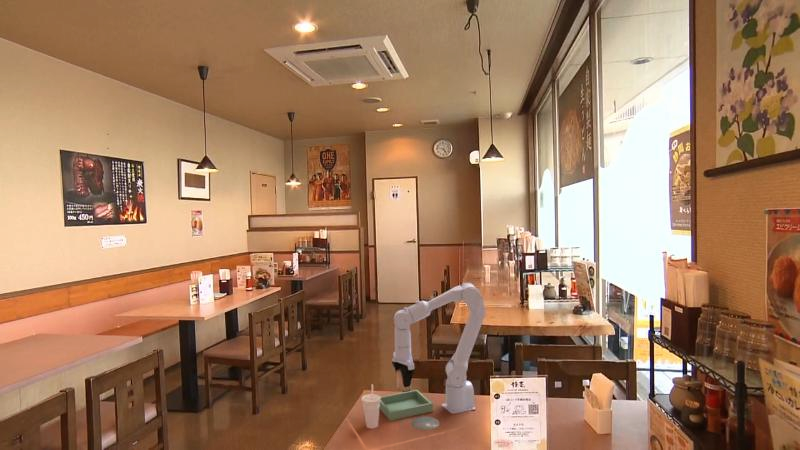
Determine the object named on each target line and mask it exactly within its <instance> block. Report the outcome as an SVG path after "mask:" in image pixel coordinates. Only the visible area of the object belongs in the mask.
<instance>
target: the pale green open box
mask: <svg viewBox="0 0 800 450" xmlns="http://www.w3.org/2000/svg"><path fill="white" fill-rule="evenodd" d="M379 411H381V412H382V413H383V415H384V416H385V417H386V419H388V421H389V422H392V421H395V420H396V421H397V420H400V419H405V418H409V417H413V416H418V415H424V414H428V413H432V412H434V404H433V402H432V401H431V400H430V399H428V397H426V396H425V395H424V394H423V393H421V392H420V391H419V390H418V389H414V390H413V389H412V390H408V391H402V392H398V393H394V394H393V393H392V394H388V395H384V396H381V401H380V408H379Z"/></svg>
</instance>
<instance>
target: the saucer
mask: <svg viewBox="0 0 800 450" xmlns="http://www.w3.org/2000/svg"><path fill="white" fill-rule="evenodd" d="M411 426H413V428H414V429H417V430H421V431H430V430H434V429H437V428H438V427H439V426H440V421H439V420H438V419H437V418H435V417H432V416H419V417H416V418H414V419H412V421H411Z"/></svg>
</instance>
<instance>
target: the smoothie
mask: <svg viewBox="0 0 800 450" xmlns="http://www.w3.org/2000/svg"><path fill="white" fill-rule="evenodd" d="M381 397H382V396H381V395H379V394H377V393H374V384H373V383H372V384H371V393H368V394H367V393H366V394H365V395H363V396H362V397H361V399H360V400H361V402H360V403H362V408H363V414H364V420H365V421H364V422H365V426H366V428H367V429H376V428H378V427H379V420H380V419H379V418H380V409H379V408H380V401H381Z"/></svg>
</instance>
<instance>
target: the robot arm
mask: <svg viewBox="0 0 800 450" xmlns="http://www.w3.org/2000/svg"><path fill="white" fill-rule="evenodd" d="M462 301H463V302H464V303H465V305H467V306H466V307H467V308H468V310H469V312H470V313H469V314H468V315H469V316H468V318H467V320H466V324H465V325H464V329H463V331H462V334H461V337H460V339H459V341H458V345H457V347H456V350H455V352H454V354H453V355H452V356H451V359H450V360H449V361H448V362H447V363H446V364H445V373H446V376H447V378H446V380H445V403H442V404H441V407H443V408H444V409H446V410H447V411H448V412H449V413H450V414H453V415H454V414H457V413H462V412H466V411H475V410H476V407H475V390H474V386H473V384H472V382H471V381H470V380H467V378H468V376H467V371H468V365H469V359H470V357H471V354H472V351H473V349H474V346H475V344H476V340H477V338H478V336H479V333H480V331H481V328H482V324H483V322H484V319H485V316H486V314H487V312H486V308H485V303H484V296H483V295H482V293H481V291H480V290H479V288H477V287H475V285H474V284H472V283H471V282H464V283H462V284H461V285H456V286H454V287H453V288H451V289H449V290H446V291H445V292H443V293H441V294H440V295H437V296H436V297H434V298H432V299H430V300H428V301H426V300H421V301H420V300H416V301H415V303H414V304H412V305H409V306H408V307H407V306H405V307H404V308H403V309H400V310H398V311H396V312H395V314H394V317H393V323H394V351H393V353H392V355H393V356H392V357H393V358H391V364H392V366H393V368H394V371H395V375H396V376H397V370H399V369H400V371H401V374H402V379H403V385H404V387H409V386H410V384H411V385H412V380H413V375H414V373H415V371H416V370H417V367H416V366H415V362H414V361H413V357H412V333H411V327H410V326H411V325H412V324H415V323H417V322H419V321H421V320H423V319H425V318H428V317H429V316H430V315H431V313H432V311H433V310H436V309H438V308H440V307H442V306H445V305H447V304H449V303H452V302H454V303H460V304H462V303H463V302H462Z"/></svg>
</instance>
